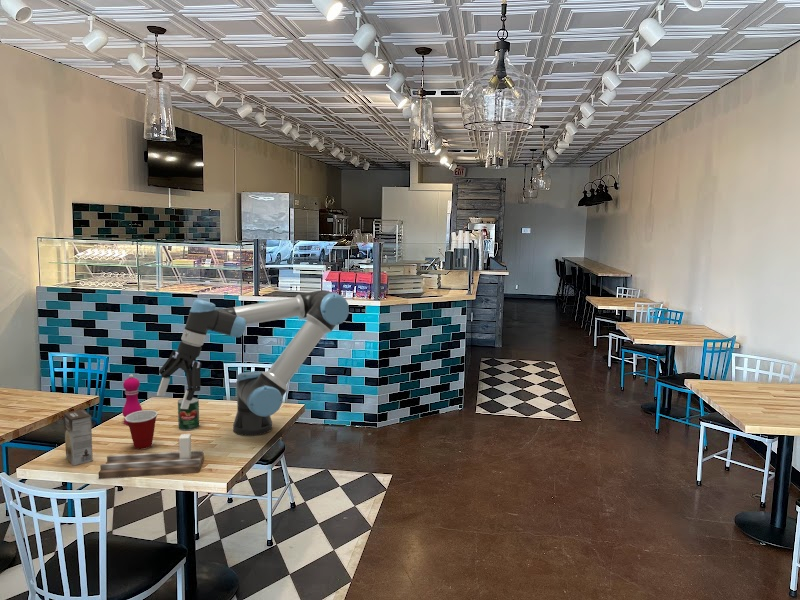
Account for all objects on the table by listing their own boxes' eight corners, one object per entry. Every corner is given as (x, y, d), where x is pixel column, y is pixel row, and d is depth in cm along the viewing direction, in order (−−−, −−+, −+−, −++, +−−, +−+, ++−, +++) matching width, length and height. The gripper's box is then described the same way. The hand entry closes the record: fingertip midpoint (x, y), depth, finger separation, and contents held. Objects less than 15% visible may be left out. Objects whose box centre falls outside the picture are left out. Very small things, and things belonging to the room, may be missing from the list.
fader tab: (191, 456, 193) (190, 433, 192) (189, 461, 189) (188, 438, 188) (181, 457, 192) (181, 434, 191) (179, 461, 188) (179, 438, 187)
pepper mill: (135, 426, 228) (133, 377, 225) (119, 424, 229) (117, 375, 226) (146, 420, 235) (144, 372, 232) (130, 418, 236) (128, 371, 234)
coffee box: (65, 458, 195) (62, 412, 193) (85, 453, 200) (83, 408, 198) (72, 466, 189) (70, 419, 187) (94, 461, 193) (91, 415, 191)
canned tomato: (194, 422, 233) (193, 396, 232) (203, 427, 228) (202, 400, 226) (174, 426, 228) (174, 400, 226) (183, 432, 222) (182, 404, 221)
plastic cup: (119, 448, 204) (117, 416, 203) (145, 439, 214) (144, 408, 212) (139, 454, 199) (138, 421, 198) (165, 444, 209) (164, 413, 207)
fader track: (203, 458, 197) (203, 448, 197) (198, 472, 186) (198, 462, 185) (110, 463, 192) (109, 453, 191) (98, 478, 180) (98, 467, 179)
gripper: (161, 332, 202) (141, 390, 201) (205, 352, 189) (185, 414, 188) (178, 335, 209) (159, 391, 208) (222, 354, 195) (203, 414, 194)
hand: (171, 402), depth 198 cm, fingers open, 13 cm apart
